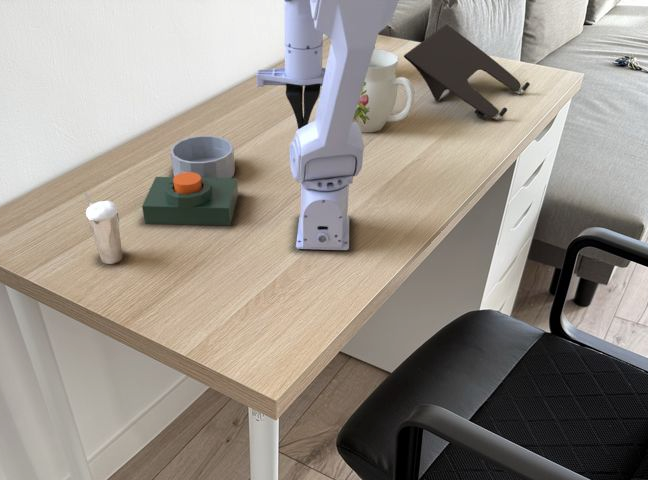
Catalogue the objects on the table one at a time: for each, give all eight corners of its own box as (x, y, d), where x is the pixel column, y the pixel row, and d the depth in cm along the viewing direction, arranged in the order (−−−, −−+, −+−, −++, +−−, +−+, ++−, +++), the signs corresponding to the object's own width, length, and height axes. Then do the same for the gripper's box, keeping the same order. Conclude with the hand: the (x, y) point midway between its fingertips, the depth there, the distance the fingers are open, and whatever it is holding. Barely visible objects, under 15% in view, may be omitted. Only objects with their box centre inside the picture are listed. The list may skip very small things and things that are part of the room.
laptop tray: (474, 151, 140) (502, 116, 133) (386, 83, 141) (409, 45, 134) (508, 112, 154) (535, 78, 147) (429, 51, 156) (451, 15, 149)
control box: (158, 193, 118) (154, 166, 114) (238, 195, 117) (236, 168, 113) (144, 224, 110) (139, 196, 107) (230, 226, 109) (228, 198, 106)
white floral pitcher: (394, 148, 129) (401, 74, 120) (317, 124, 138) (319, 54, 128) (423, 128, 135) (432, 57, 126) (349, 107, 144) (352, 39, 135)
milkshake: (110, 244, 106) (97, 186, 99) (133, 256, 103) (122, 197, 96) (87, 258, 103) (72, 199, 96) (110, 270, 100) (97, 210, 94)
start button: (177, 181, 111) (176, 171, 110) (204, 182, 111) (203, 172, 110) (172, 194, 108) (170, 184, 107) (199, 195, 107) (198, 185, 106)
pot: (230, 187, 119) (228, 163, 116) (168, 186, 119) (164, 162, 116) (238, 159, 127) (236, 135, 124) (180, 158, 128) (177, 135, 125)
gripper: (352, 34, 104) (347, 119, 114) (258, 33, 106) (261, 118, 115) (352, 50, 99) (347, 138, 108) (253, 49, 100) (257, 136, 110)
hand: (303, 129), depth 111 cm, fingers closed
